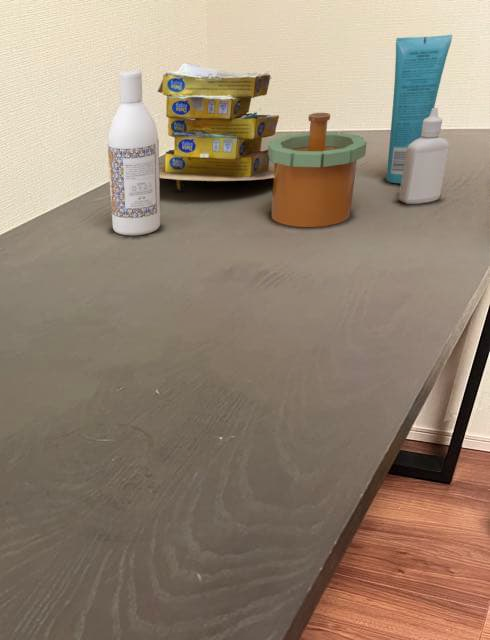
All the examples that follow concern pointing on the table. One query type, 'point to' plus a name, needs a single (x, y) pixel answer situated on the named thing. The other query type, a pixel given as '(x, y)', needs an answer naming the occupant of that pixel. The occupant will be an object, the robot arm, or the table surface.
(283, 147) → the rubber ring
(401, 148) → the tube
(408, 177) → the eye dropper bottle
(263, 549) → the table surface
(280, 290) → the table surface
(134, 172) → the bath foam
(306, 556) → the table surface
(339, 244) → the table surface
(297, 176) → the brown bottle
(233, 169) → the stacked yellow boxes
